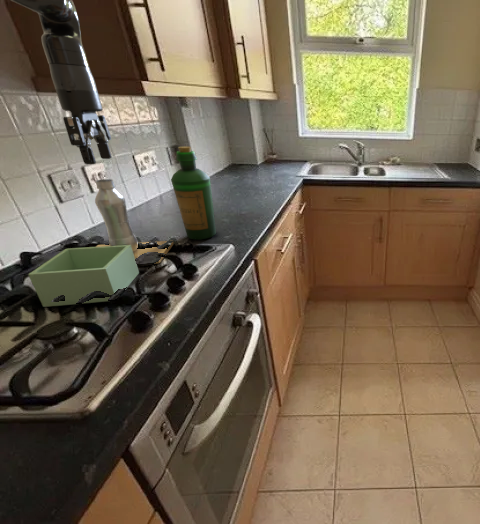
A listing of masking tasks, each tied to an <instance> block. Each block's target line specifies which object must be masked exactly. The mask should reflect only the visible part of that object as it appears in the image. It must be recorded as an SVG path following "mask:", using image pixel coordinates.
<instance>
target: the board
mask: <svg viewBox="0 0 480 524" xmlns="http://www.w3.org/2000/svg"><path fill="white" fill-rule="evenodd" d="M167 241H168V240H162V241H161V240H159V241H156V242H157V244H158V245H162V244H164V243H166V242H167ZM149 242H150V241H143V242H140V243H142V244H146V243H149ZM103 246H110V245H105V244H97V245H96V246H95V247H103ZM173 246H174V241H173V242H172V243H171V245H170V246H169V247H168V249H167V248H165V249H158V248H157V247H152V248H145V249H137V250H135V251H133V254H134V257H135V259H136V258H138V257H139V256H140V255H142V254H144V253H147V252H158V253H164V254H166V255H167V254H168V253H169V251H170V250H171V249H172V247H173ZM164 258H165V257H161V259H160V260H159V261H158V262H156V263H154V265H155V264H161V262H162V261H163V259H164Z"/></svg>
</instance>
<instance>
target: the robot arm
mask: <svg viewBox="0 0 480 524" xmlns="http://www.w3.org/2000/svg"><path fill="white" fill-rule="evenodd" d="M10 1H11V2H13V3H16V4H18V5H20V6H21V7H23V8H24V7H25V8H26V9H29V10H31V11H32V12H34V13H37V14H38V17H39V21H40V25H41V29H42V31H43V34H42V35H41V44H42V48H43V51H44V55H45V57H46V60H47V63H48V66H49V71H50V76H51V80H52V83H53V87H54V89H55V91H56V95H57V98H58V101H59V104H60V107H61V110H63V111H66V112H70V114H71V116H63V117H62V118H63V119H62V120H63V122H64V126H65V129H66V133H67V136H68V138H69V139H68V140H69V142H70V145H71V146H76V148H78V149H79V152H80V156H81V158H82V161H83V163H84V164H85V165H95V164H96V163H97V160H96V157H95V155H94V150H93V148H92V140H94V141H95V143H96V146H97V150H98V153H99V156H100V158H101V159H102V160H110V159H112V158H113V157H112V153H111V150H110V146H109V143H110V141H112V136H111V133H110V129H109V126H108V123H107V121H106V117H105V115H103V114H97V112H103V105H102V103H101V98H100V95H99V91H98V88H97V84H96V81H95V78H94V76H93V75H94V74H93V73H92V71H91V67H90V65H89V61H88V58H87V54H86V51H85V48H84V45H83V41H82V34H81V27H80V20H79V15H78V12H77V9H76V6H75V4H74V1H73V0H10Z"/></svg>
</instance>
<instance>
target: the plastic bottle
mask: <svg viewBox="0 0 480 524" xmlns="http://www.w3.org/2000/svg"><path fill="white" fill-rule="evenodd" d="M95 185H96V189H97V190H98V192H97V193H96V196H95V199H94V203H95V205H96V207H97V209H98V211H99V213H100V215H101V217H102V219H103V222H104V225H105V227H106V232H107V237H108V244H109V245H110V246H121V245H131V247H132V251H135V250H137V248H138V243H139V241H138V238H137V236H136V235H135V233H134V230H133V228H132V225H131V223H130V220H129V216H128V210H127V202H126V198H125V197H124V195H123V194H121V193H120V192H119V191H118V190H117V189H116V184H115V183H114V180H113V179H111V178H103V179H98V180H95Z"/></svg>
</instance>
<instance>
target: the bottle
mask: <svg viewBox="0 0 480 524" xmlns="http://www.w3.org/2000/svg"><path fill="white" fill-rule="evenodd" d="M178 150H179V151H176V161H178V163H179V167H180V168H179V169H178V170H177V171H175V172H174V173H173V175H172V177H171V178H170V182H171V185H172V188H173V192H174V196H175V199H176V202H177V206H178V209H179V212H180V216H181V219H182V223H183V226H184V230H185V234H186V236H187V238H188V239H190V240H194V241H195V240H196V241H202V240H207V239H211V238H213V237H215V235H216V234H217V228H216V221H215V220H216V219H215V212H214V211H215V210H214V203H213V193H212V185H211V184H212V183H211V177H210V176H209V175H208V174H207V172H205V171H203V170H201V169H200V168H198V167H197V163H196V160H198V158H197V155H196V153H195V151H194V150H192V147H191V146H178Z"/></svg>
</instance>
